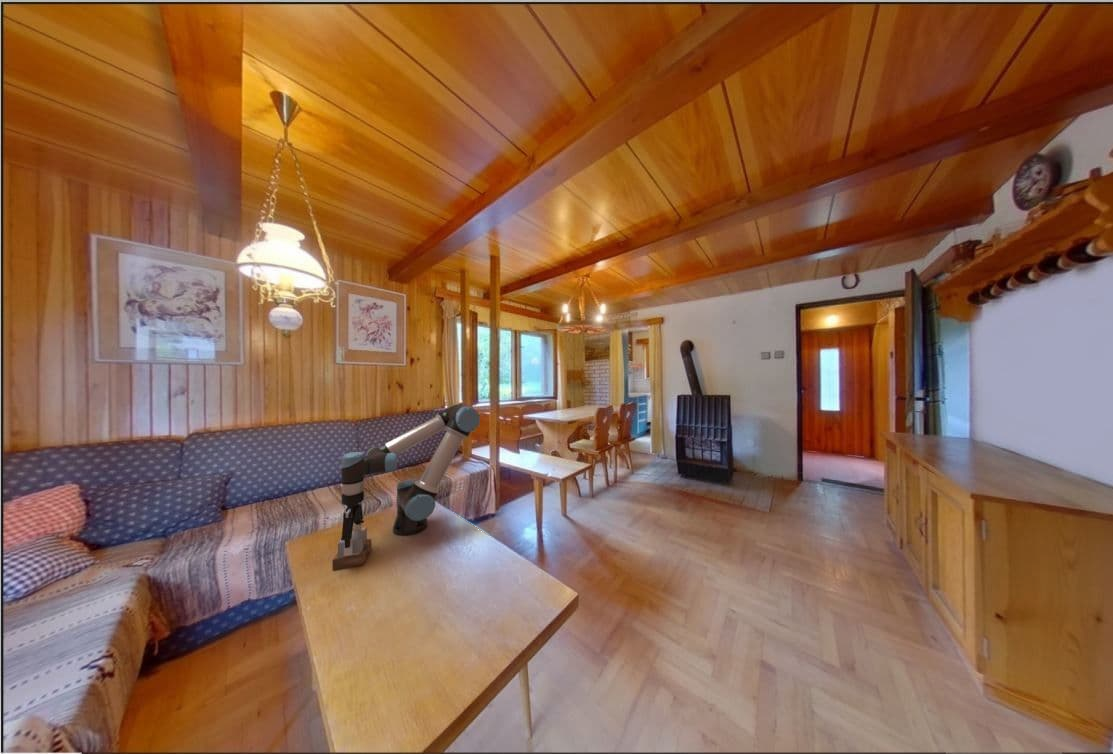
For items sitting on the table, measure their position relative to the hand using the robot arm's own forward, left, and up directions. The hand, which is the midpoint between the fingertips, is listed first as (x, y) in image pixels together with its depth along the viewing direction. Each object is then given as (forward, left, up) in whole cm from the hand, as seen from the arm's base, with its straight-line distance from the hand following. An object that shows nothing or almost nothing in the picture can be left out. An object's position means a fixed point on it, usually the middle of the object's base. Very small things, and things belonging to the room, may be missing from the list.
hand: (353, 547), depth 123 cm
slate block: (0, 0, -1) cm, 1 cm away
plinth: (0, 0, -5) cm, 5 cm away
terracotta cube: (-12, -2, -5) cm, 13 cm away
